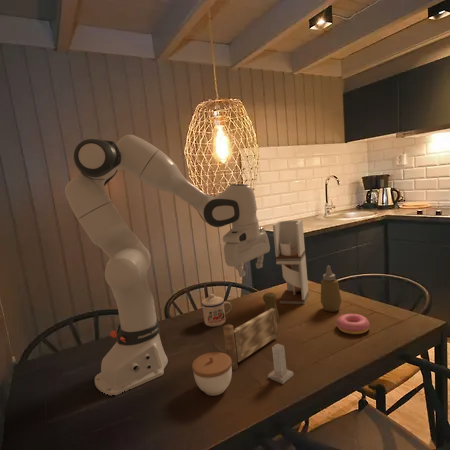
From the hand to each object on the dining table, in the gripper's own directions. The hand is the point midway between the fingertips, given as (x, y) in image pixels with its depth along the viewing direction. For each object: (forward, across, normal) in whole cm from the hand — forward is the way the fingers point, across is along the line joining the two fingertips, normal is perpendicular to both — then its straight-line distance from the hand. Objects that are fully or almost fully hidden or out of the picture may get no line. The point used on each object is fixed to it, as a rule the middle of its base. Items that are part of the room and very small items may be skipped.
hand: (251, 272), depth 109 cm
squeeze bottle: (+25, -34, +10) cm, 44 cm away
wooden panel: (+23, +6, +4) cm, 24 cm away
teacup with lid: (+24, -4, -24) cm, 34 cm away
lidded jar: (+24, +28, +6) cm, 38 cm away
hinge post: (+24, +18, +3) cm, 30 cm away
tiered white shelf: (+25, -38, -8) cm, 46 cm away
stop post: (+24, +14, +18) cm, 33 cm away
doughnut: (+26, -23, +24) cm, 42 cm away
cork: (+25, -14, -5) cm, 29 cm away
